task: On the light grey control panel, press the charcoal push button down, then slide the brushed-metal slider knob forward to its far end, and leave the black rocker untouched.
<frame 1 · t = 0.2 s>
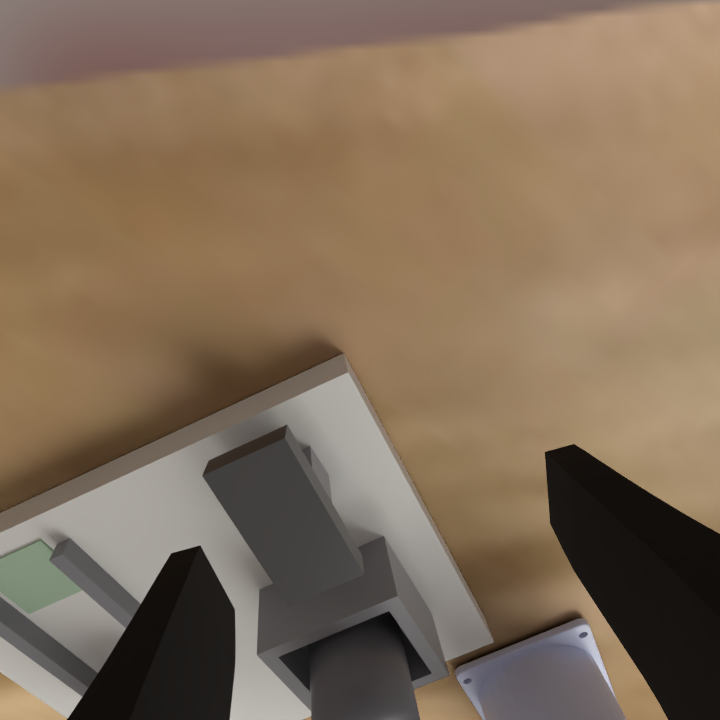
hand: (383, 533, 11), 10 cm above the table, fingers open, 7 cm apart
panel: (233, 591, 25), on the table
rocker: (287, 518, 18), point 4 cm above the table, hinge at 10.0°
push button: (360, 682, 21), point 5 cm above the table, slide at 0.0 cm
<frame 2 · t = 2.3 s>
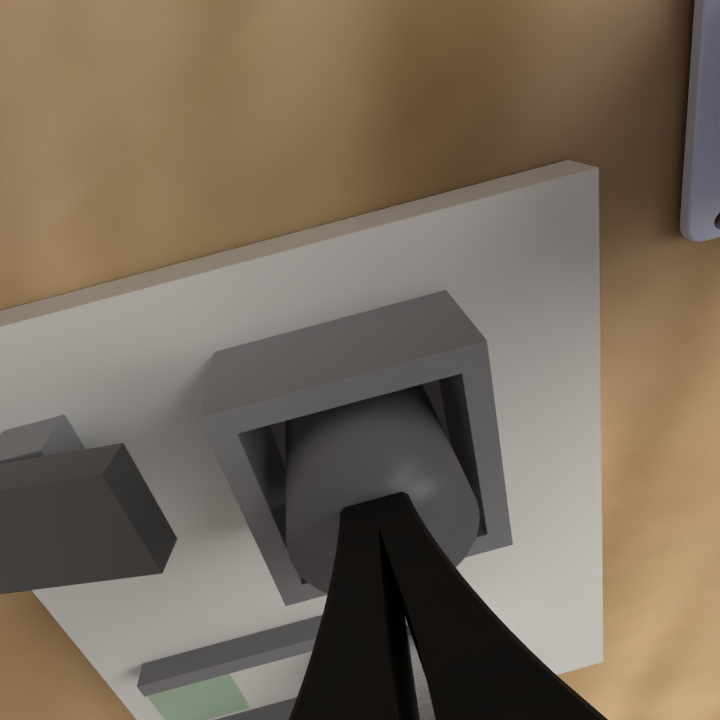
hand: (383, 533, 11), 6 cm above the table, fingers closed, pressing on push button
panel: (329, 522, 18), on the table
rocker: (23, 527, 12), point 4 cm above the table, hinge at 10.0°
slider knob: (437, 703, 17), point 4 cm above the table, slide at 0.0 cm
push button: (370, 471, 12), point 4 cm above the table, slide at 1.3 cm, touching gripper
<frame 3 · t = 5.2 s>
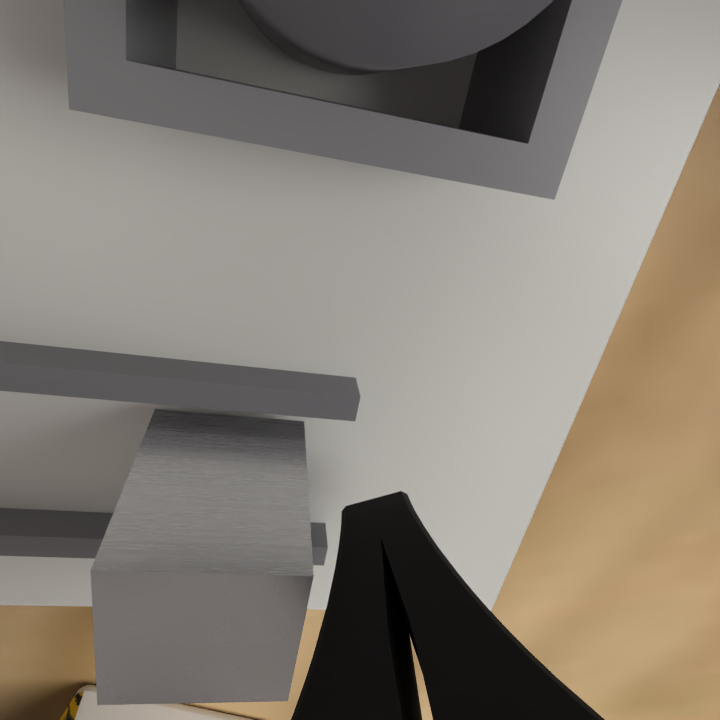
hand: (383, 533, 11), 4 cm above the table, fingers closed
panel: (204, 216, 11), on the table
slider knob: (215, 542, 10), point 4 cm above the table, slide at 1.0 cm, touching gripper
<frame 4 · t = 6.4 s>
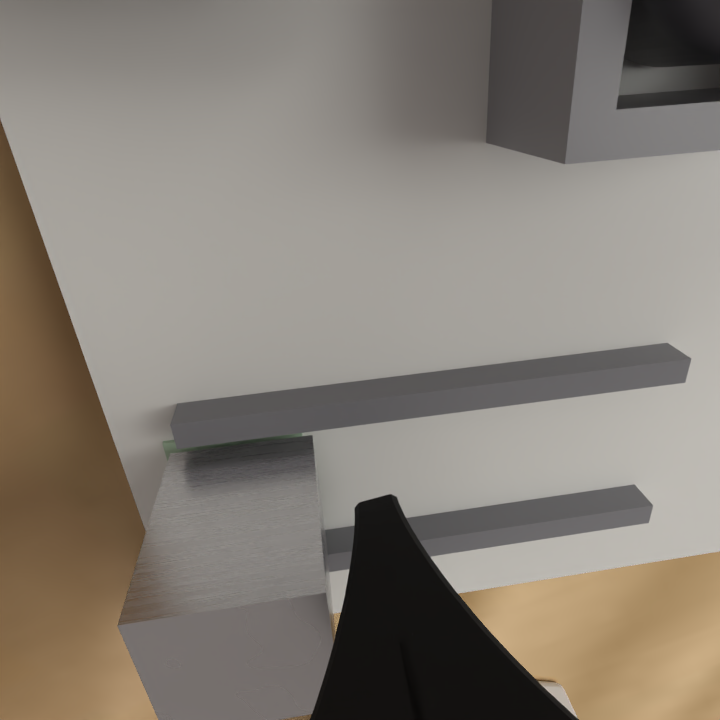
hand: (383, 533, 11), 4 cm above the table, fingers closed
panel: (502, 228, 12), on the table
slider knob: (248, 569, 10), point 4 cm above the table, slide at 8.3 cm, touching gripper
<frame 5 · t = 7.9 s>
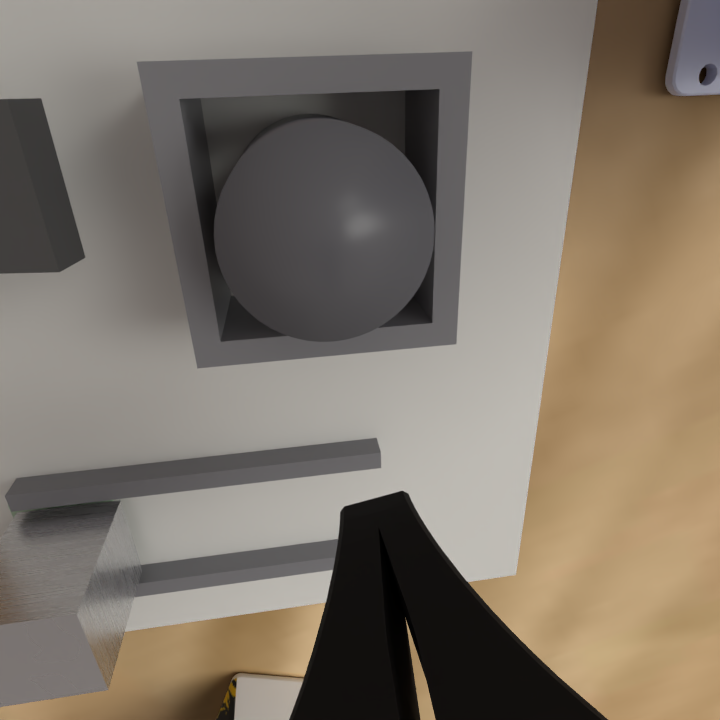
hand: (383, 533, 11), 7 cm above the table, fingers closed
panel: (259, 355, 17), on the table
slider knob: (59, 595, 15), point 4 cm above the table, slide at 8.1 cm
push button: (319, 218, 11), point 4 cm above the table, slide at 1.3 cm
medicine bottle: (287, 716, 26), on the table
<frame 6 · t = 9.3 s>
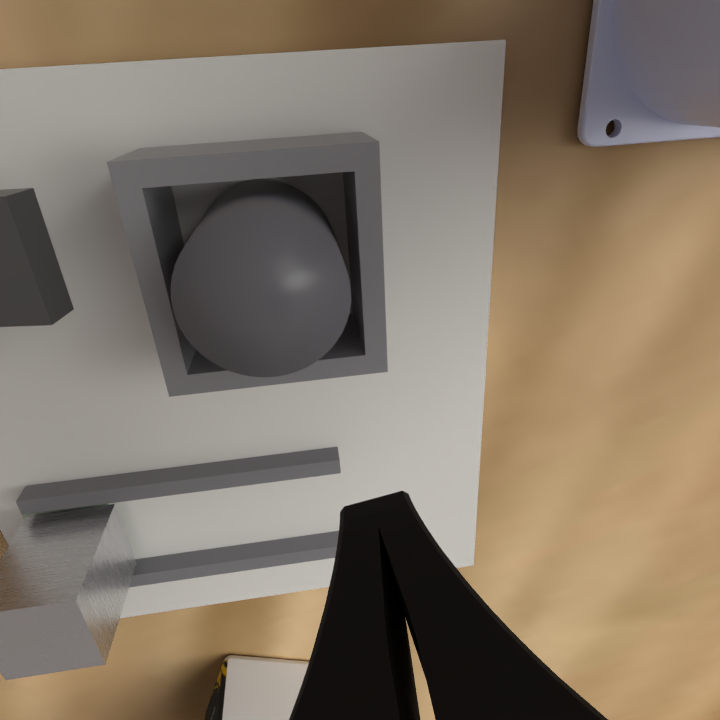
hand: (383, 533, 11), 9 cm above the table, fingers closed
panel: (233, 376, 19), on the table
slider knob: (63, 585, 17), point 4 cm above the table, slide at 8.1 cm
push button: (265, 272, 14), point 4 cm above the table, slide at 1.3 cm
medicine bottle: (277, 694, 29), on the table
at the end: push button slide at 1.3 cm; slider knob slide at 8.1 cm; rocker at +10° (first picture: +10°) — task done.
